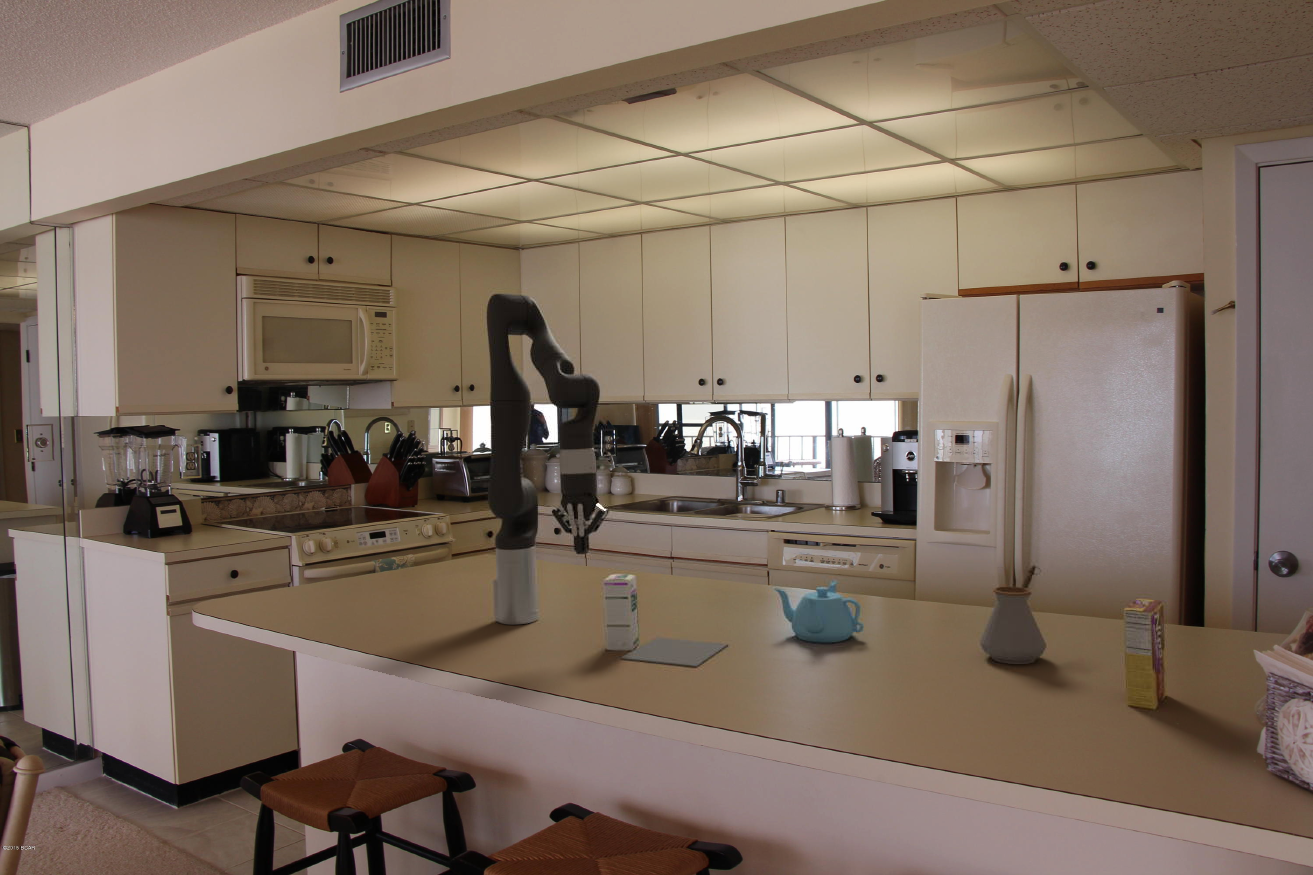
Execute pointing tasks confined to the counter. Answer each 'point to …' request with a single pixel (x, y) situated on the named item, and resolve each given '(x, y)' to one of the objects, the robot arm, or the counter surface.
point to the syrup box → (621, 612)
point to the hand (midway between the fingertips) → (582, 553)
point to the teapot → (822, 615)
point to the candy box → (1145, 653)
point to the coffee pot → (1013, 627)
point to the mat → (675, 652)
